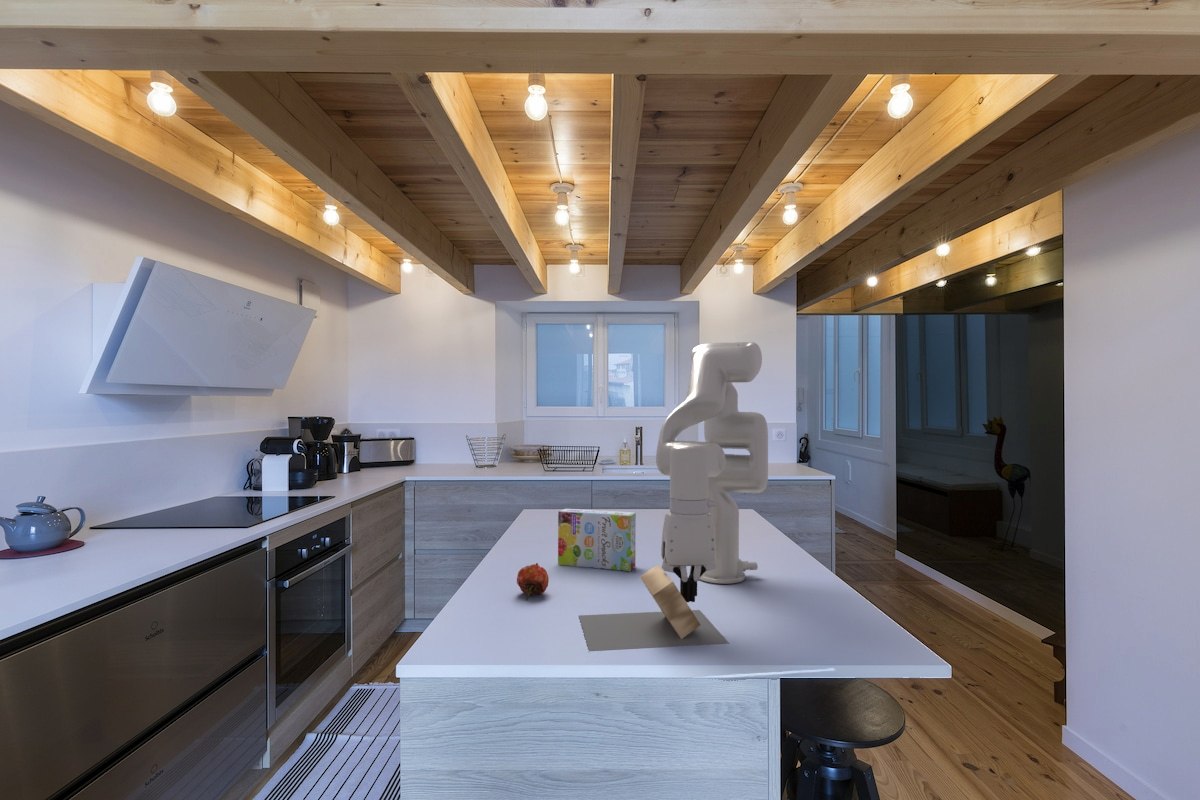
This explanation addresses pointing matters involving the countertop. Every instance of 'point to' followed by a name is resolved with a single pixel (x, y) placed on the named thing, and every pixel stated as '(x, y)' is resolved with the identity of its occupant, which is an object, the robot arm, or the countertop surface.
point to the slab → (670, 601)
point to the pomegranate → (532, 579)
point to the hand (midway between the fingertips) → (688, 599)
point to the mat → (643, 631)
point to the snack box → (597, 539)
